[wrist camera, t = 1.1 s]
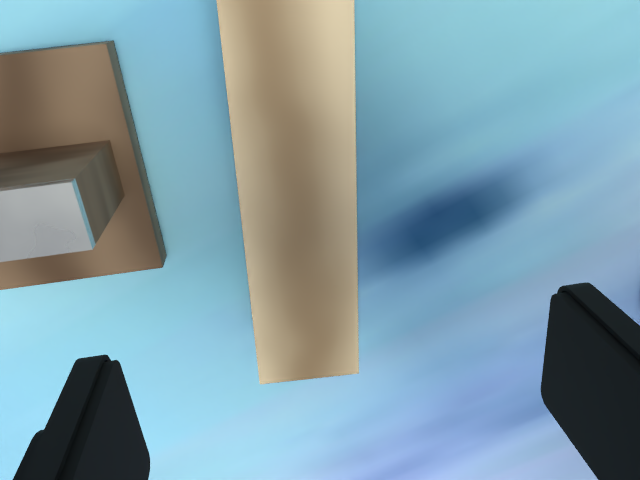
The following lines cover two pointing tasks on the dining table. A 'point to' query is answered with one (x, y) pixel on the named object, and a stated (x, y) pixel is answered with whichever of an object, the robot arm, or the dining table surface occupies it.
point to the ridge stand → (71, 170)
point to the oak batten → (296, 179)
